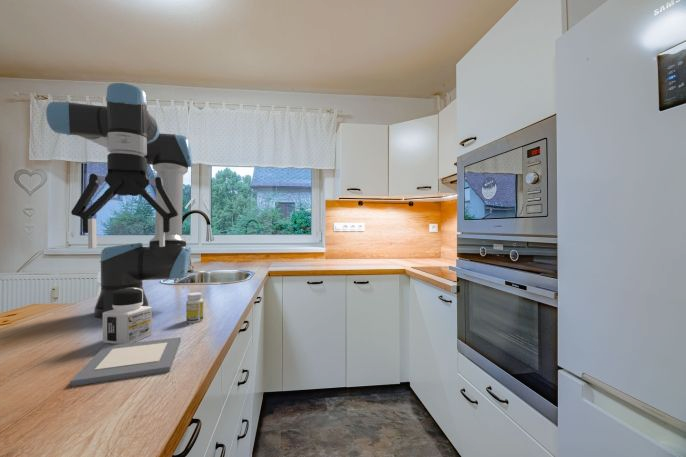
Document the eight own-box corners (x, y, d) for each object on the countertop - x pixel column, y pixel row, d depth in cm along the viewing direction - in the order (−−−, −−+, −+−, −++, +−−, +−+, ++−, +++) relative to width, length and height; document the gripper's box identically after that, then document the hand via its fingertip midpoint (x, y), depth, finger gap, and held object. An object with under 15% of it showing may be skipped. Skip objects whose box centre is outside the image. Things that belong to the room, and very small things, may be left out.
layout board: (104, 350, 74) (104, 345, 74) (180, 341, 80) (180, 336, 80) (70, 386, 57) (70, 379, 57) (169, 371, 63) (169, 365, 63)
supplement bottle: (198, 317, 100) (198, 291, 100) (206, 320, 98) (206, 293, 98) (183, 321, 97) (183, 294, 96) (191, 323, 94) (191, 296, 94)
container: (127, 345, 77) (127, 292, 77) (101, 343, 78) (101, 291, 78) (152, 334, 84) (152, 286, 84) (128, 332, 86) (128, 285, 86)
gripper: (50, 146, 64) (52, 250, 64) (186, 156, 73) (187, 247, 73) (66, 153, 71) (68, 247, 71) (189, 162, 80) (189, 244, 80)
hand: (128, 247), depth 72 cm, fingers open, 13 cm apart
